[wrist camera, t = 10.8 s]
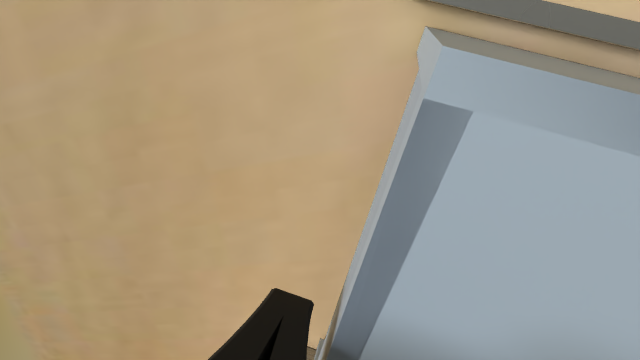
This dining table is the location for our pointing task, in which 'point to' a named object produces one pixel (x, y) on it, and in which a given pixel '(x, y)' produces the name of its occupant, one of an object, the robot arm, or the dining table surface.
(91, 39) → the dining table surface
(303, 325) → the robot arm
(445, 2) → the pin seat
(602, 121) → the housing
